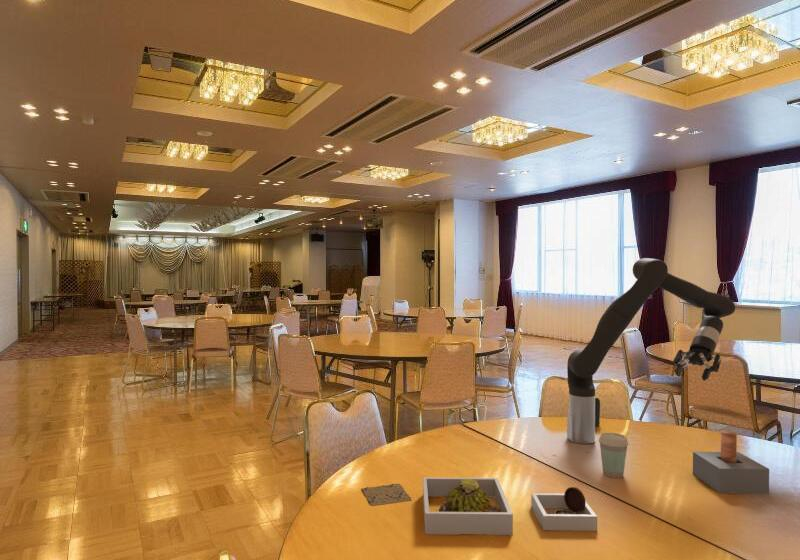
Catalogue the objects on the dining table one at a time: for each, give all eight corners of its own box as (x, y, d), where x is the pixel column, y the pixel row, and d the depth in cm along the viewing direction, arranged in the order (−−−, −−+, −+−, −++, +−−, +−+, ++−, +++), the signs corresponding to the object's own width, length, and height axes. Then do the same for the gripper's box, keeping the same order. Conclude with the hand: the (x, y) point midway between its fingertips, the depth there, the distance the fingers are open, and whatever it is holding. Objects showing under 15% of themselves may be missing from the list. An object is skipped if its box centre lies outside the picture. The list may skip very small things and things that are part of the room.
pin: (726, 482, 154) (725, 435, 154) (718, 477, 158) (717, 430, 158) (739, 482, 154) (739, 434, 154) (731, 476, 158) (731, 430, 158)
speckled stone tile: (370, 508, 141) (370, 505, 141) (360, 490, 152) (360, 487, 152) (412, 502, 144) (412, 499, 144) (399, 485, 156) (399, 481, 156)
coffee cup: (631, 481, 158) (631, 441, 158) (601, 478, 160) (601, 439, 159) (624, 470, 166) (625, 432, 166) (596, 468, 168) (596, 431, 168)
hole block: (719, 492, 149) (719, 468, 149) (692, 473, 163) (692, 451, 163) (768, 493, 149) (769, 468, 149) (738, 474, 163) (738, 451, 163)
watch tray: (543, 530, 128) (543, 516, 128) (531, 506, 141) (531, 493, 141) (597, 530, 128) (597, 516, 128) (579, 506, 141) (580, 493, 141)
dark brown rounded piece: (546, 517, 135) (546, 489, 135) (567, 510, 139) (567, 482, 139) (572, 530, 128) (572, 501, 128) (592, 522, 132) (593, 493, 132)
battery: (594, 422, 218) (594, 395, 218) (600, 425, 215) (600, 397, 215) (580, 424, 216) (580, 396, 216) (585, 426, 213) (585, 398, 213)
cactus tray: (425, 534, 126) (425, 513, 126) (422, 494, 148) (422, 477, 148) (512, 535, 126) (512, 514, 126) (497, 495, 148) (497, 477, 148)
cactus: (485, 540, 124) (485, 499, 124) (426, 522, 132) (426, 484, 132) (511, 511, 138) (511, 475, 138) (457, 497, 147) (457, 463, 147)
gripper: (681, 332, 194) (666, 367, 187) (724, 336, 182) (709, 373, 175) (687, 346, 197) (672, 380, 190) (729, 350, 186) (715, 387, 179)
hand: (690, 376), depth 183 cm, fingers open, 8 cm apart
